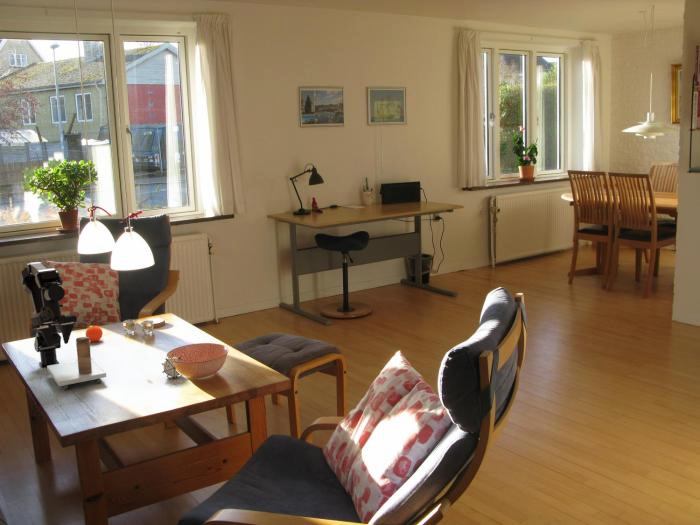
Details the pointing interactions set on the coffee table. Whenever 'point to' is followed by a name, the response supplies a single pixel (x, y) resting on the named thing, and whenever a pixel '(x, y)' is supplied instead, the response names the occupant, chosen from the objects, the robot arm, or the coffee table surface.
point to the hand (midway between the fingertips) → (58, 344)
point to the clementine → (94, 333)
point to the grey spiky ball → (171, 367)
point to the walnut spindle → (83, 355)
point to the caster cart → (74, 373)
